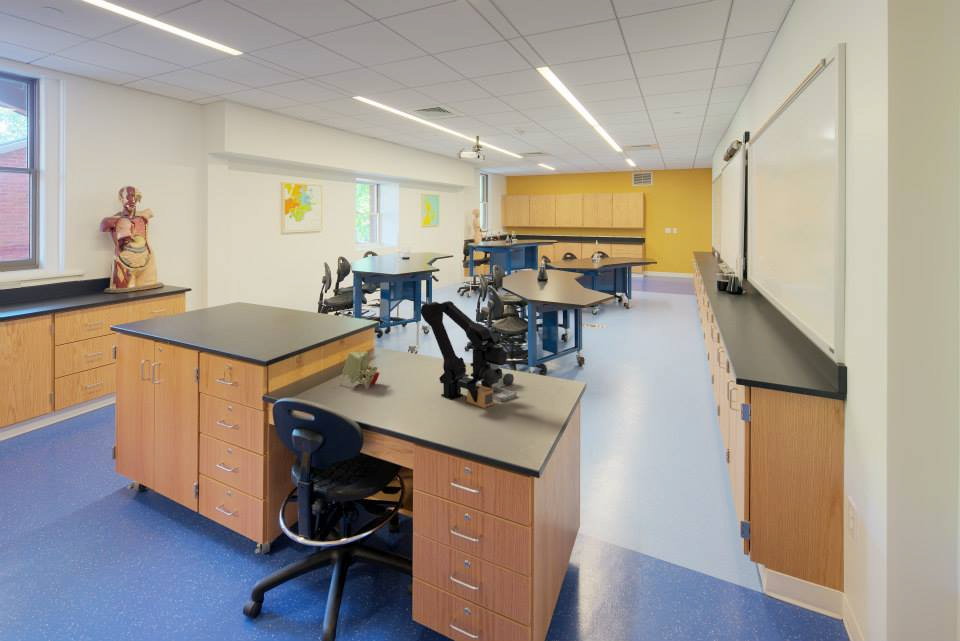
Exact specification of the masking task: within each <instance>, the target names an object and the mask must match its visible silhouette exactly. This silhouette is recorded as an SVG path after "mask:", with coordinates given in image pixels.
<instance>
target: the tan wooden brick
mask: <svg viewBox="0 0 960 641" xmlns="http://www.w3.org/2000/svg"><path fill="white" fill-rule="evenodd" d="M478 386H479V387H480V388H479V389H478V395H477V402H474V400H473V398H472V396H471V394H470V392H469V390H468V389H466V390H467V393H466V394H467V403H470V404H472V405H475V406H478V407H481V408H487V406H488V407H490V406H492V405H494V400H493V395H494V390H493V389H490V388H487V387H484V386H481V385H478Z"/></svg>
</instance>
